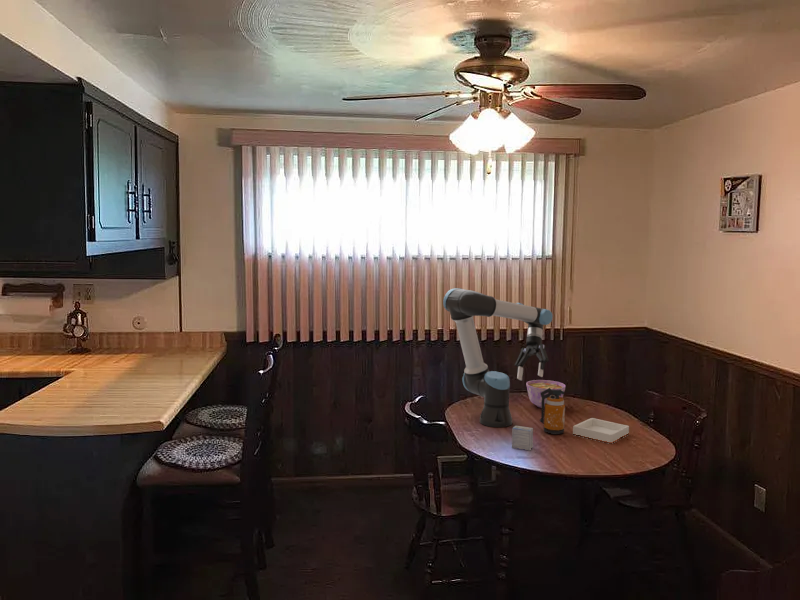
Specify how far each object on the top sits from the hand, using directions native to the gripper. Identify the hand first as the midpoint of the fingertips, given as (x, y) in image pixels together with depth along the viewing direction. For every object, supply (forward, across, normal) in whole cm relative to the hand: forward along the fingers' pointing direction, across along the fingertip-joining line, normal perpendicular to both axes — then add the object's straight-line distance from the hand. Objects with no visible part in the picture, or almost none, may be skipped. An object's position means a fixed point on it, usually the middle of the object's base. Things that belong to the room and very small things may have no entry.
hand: (529, 377), depth 324 cm
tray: (+26, -32, -15) cm, 44 cm away
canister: (+28, -17, 0) cm, 33 cm away
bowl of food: (+6, +11, -24) cm, 27 cm away
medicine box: (+42, -24, +24) cm, 54 cm away
